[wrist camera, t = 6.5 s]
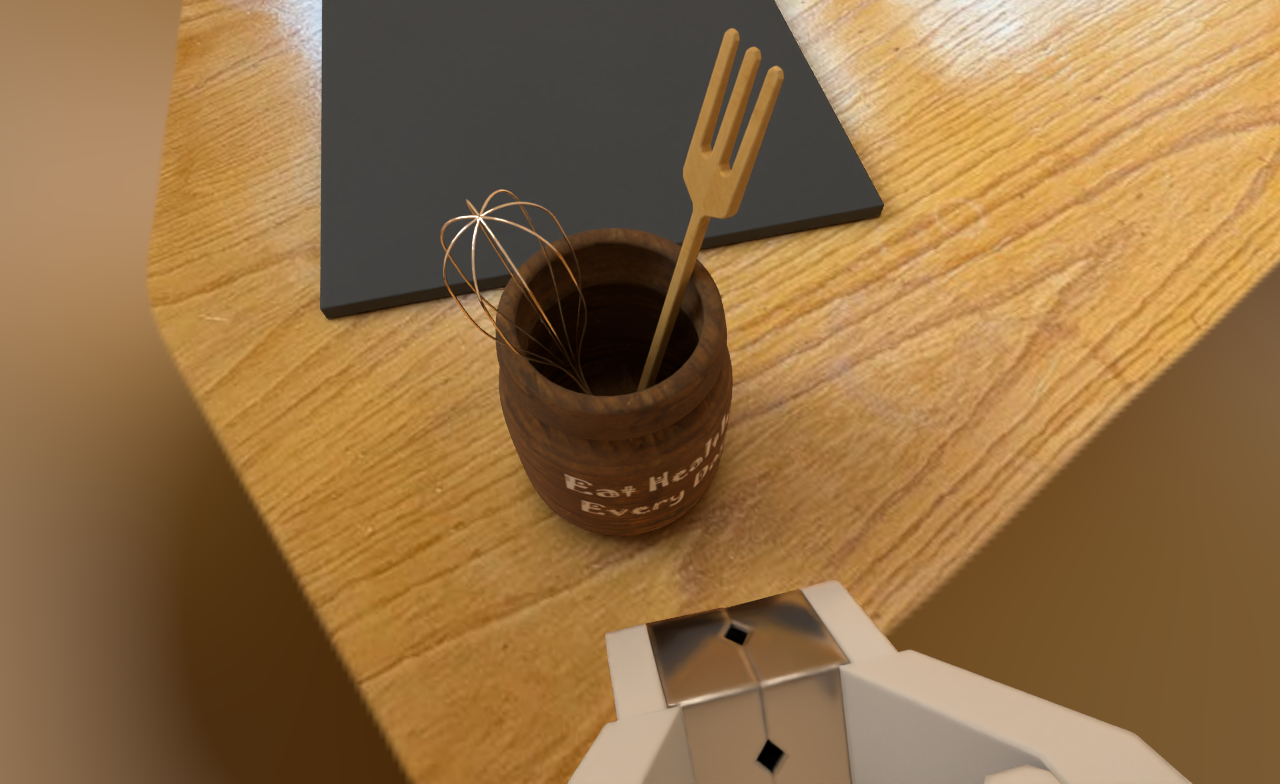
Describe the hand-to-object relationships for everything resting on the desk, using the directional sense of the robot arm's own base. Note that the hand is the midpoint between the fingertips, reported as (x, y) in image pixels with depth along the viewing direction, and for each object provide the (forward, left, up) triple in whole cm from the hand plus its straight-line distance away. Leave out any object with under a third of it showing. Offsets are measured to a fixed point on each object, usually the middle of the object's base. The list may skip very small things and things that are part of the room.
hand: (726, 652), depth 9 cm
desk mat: (+1, +33, -10) cm, 34 cm away
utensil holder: (0, +8, -10) cm, 13 cm away
